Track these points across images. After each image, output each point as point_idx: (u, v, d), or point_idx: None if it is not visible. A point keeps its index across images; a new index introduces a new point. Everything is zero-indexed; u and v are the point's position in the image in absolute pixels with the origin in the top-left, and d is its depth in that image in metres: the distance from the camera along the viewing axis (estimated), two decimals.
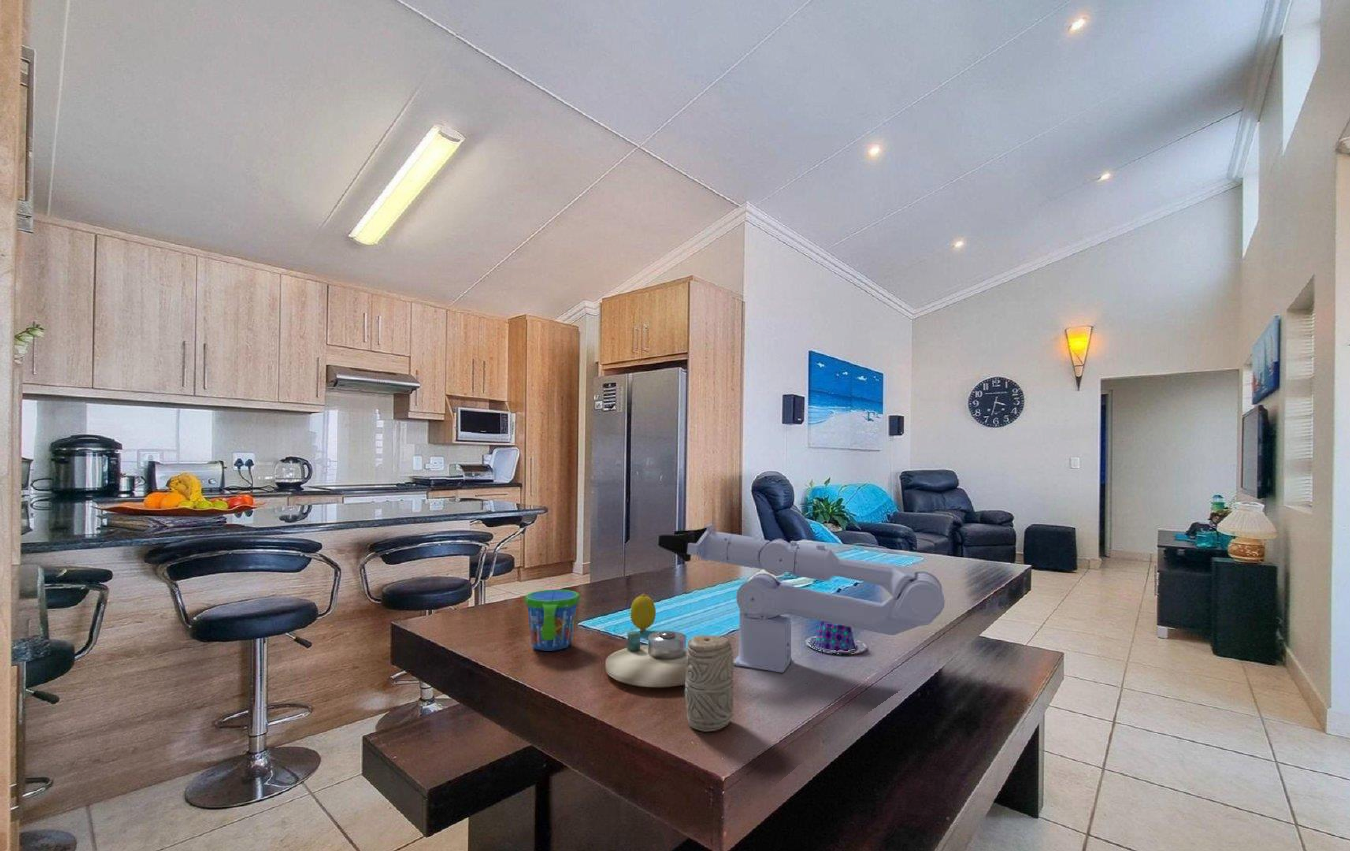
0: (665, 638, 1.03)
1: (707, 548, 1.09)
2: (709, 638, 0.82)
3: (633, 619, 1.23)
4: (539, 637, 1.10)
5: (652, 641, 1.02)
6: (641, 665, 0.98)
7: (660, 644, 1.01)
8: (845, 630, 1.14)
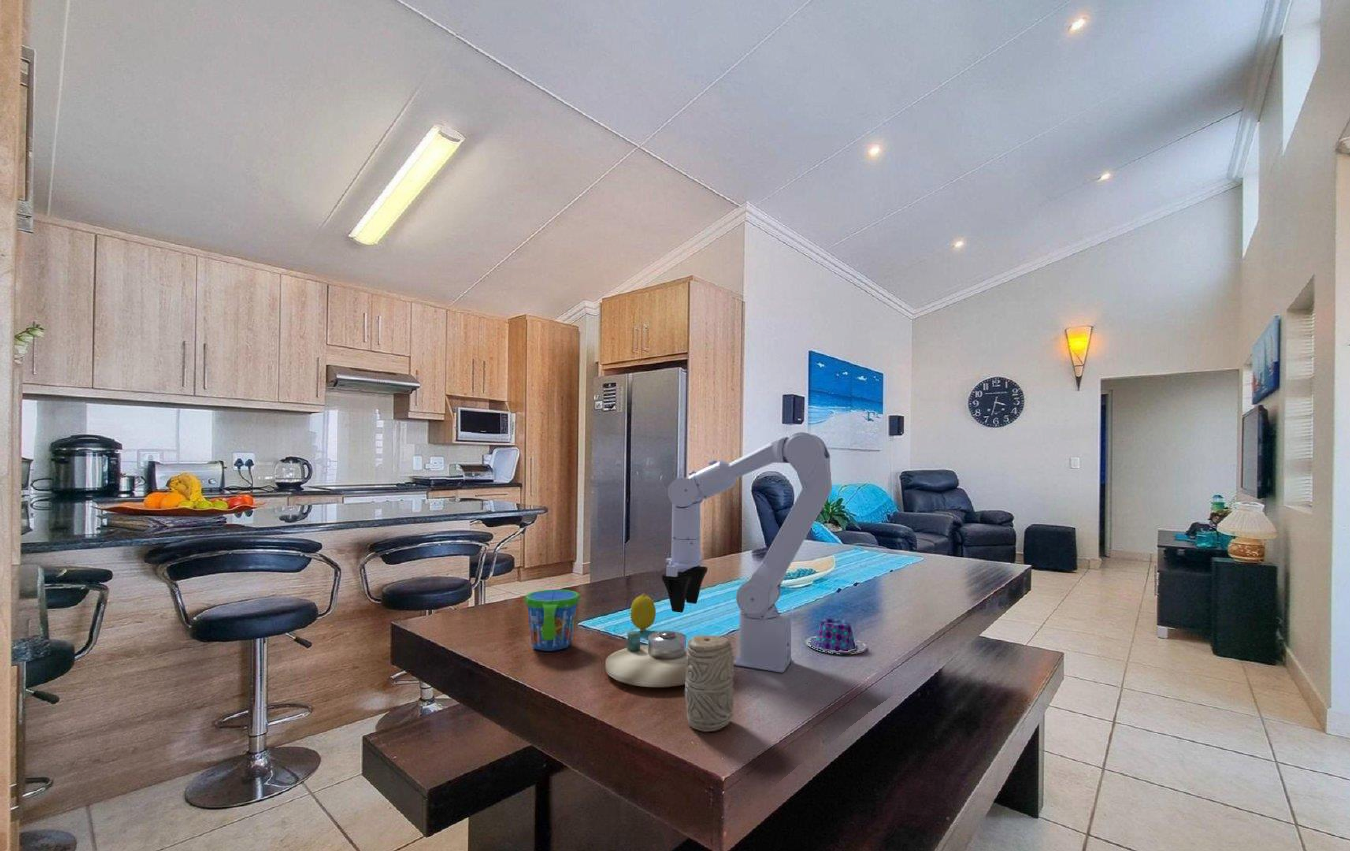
0: (665, 638, 1.03)
1: (680, 559, 1.11)
2: (709, 638, 0.82)
3: (633, 619, 1.23)
4: (539, 637, 1.10)
5: (652, 641, 1.02)
6: (641, 665, 0.98)
7: (660, 644, 1.01)
8: (845, 630, 1.14)
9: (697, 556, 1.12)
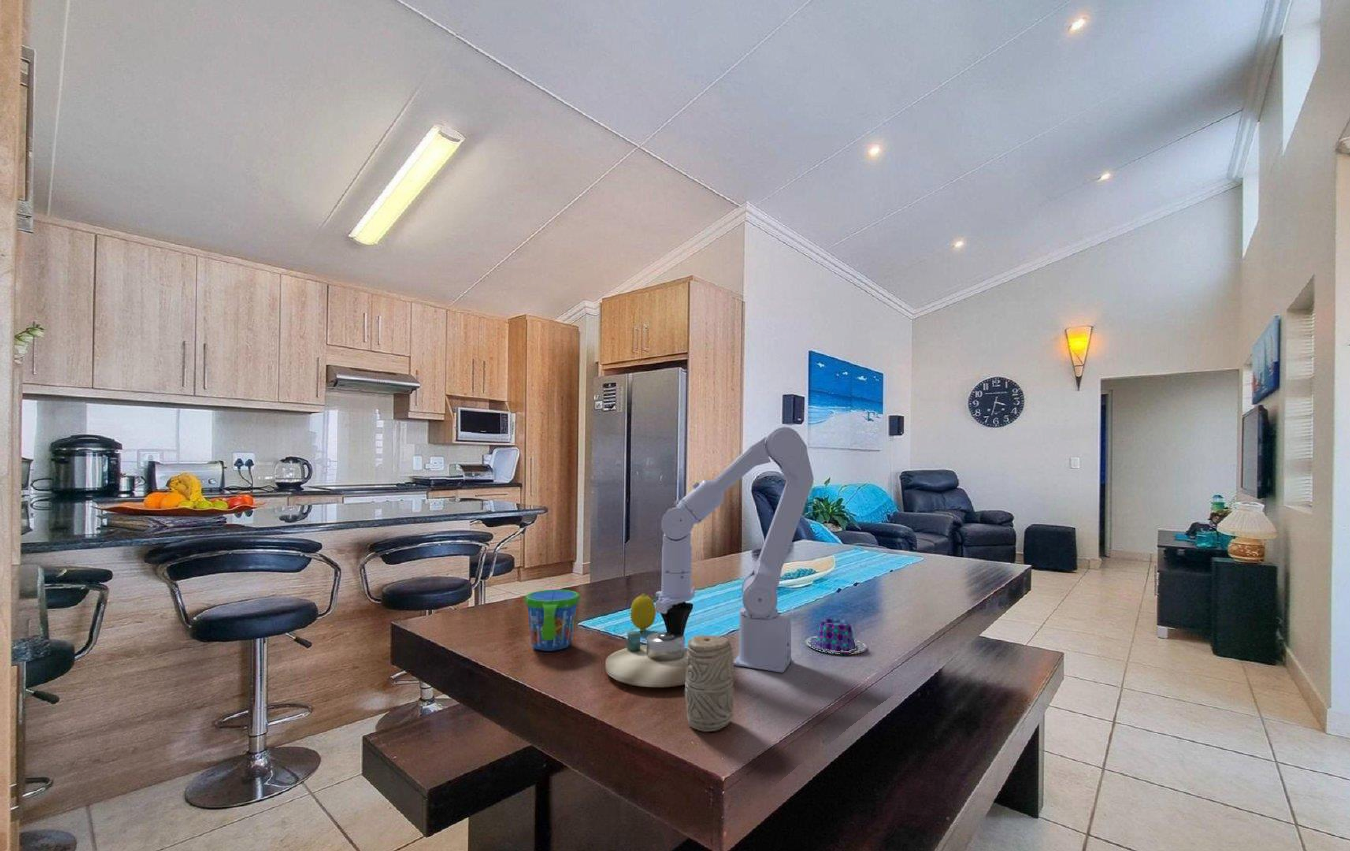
0: (663, 639, 1.02)
1: (671, 594, 1.06)
2: (709, 638, 0.82)
3: (633, 619, 1.23)
4: (539, 637, 1.10)
5: (650, 642, 1.02)
6: (641, 665, 0.98)
7: (658, 645, 1.01)
8: (846, 630, 1.14)
9: (688, 590, 1.07)
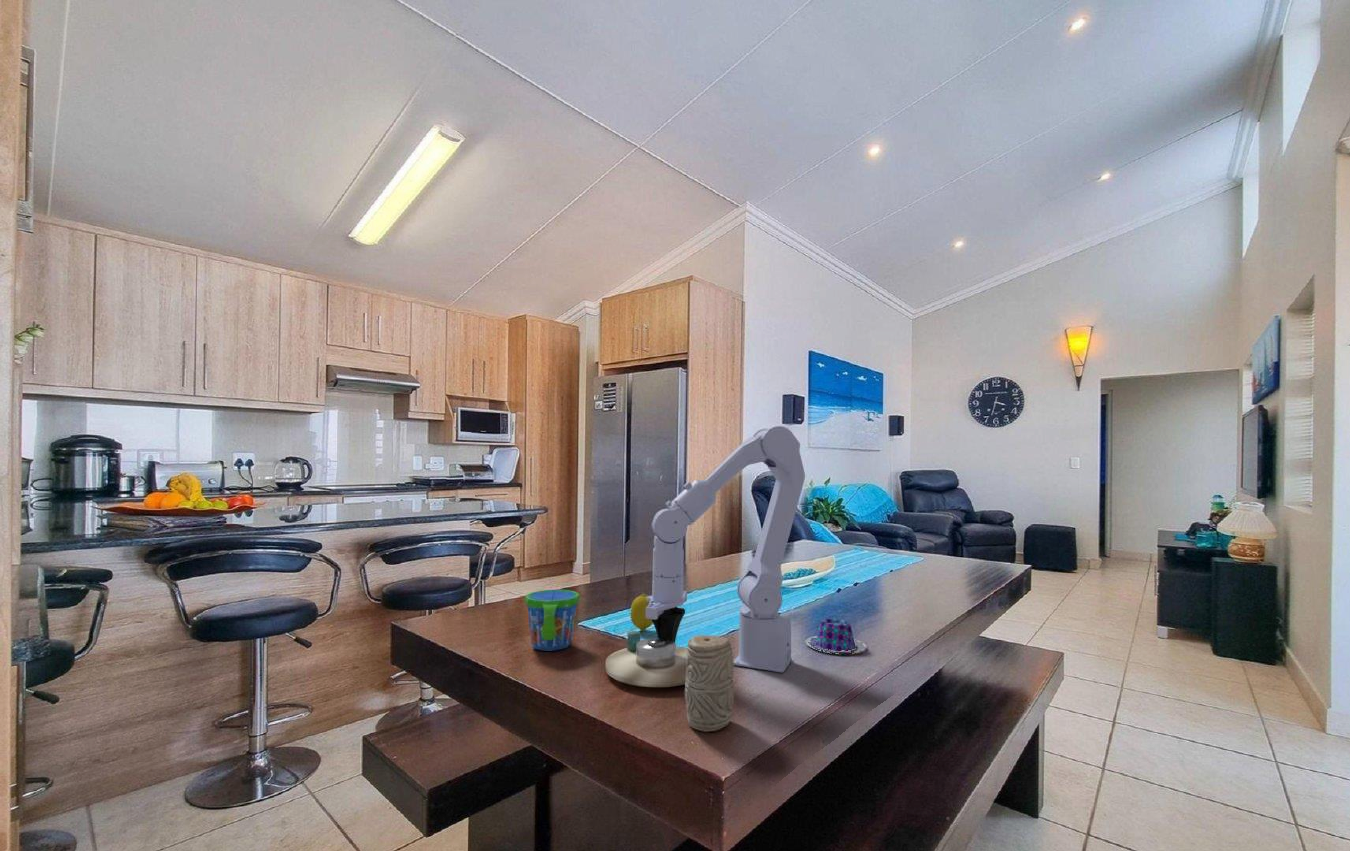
0: (653, 646, 0.99)
1: (662, 599, 1.02)
2: (709, 638, 0.82)
3: (633, 619, 1.23)
4: (539, 637, 1.10)
5: (640, 649, 0.98)
6: None
7: (648, 652, 0.97)
8: (846, 629, 1.14)
9: (680, 595, 1.03)
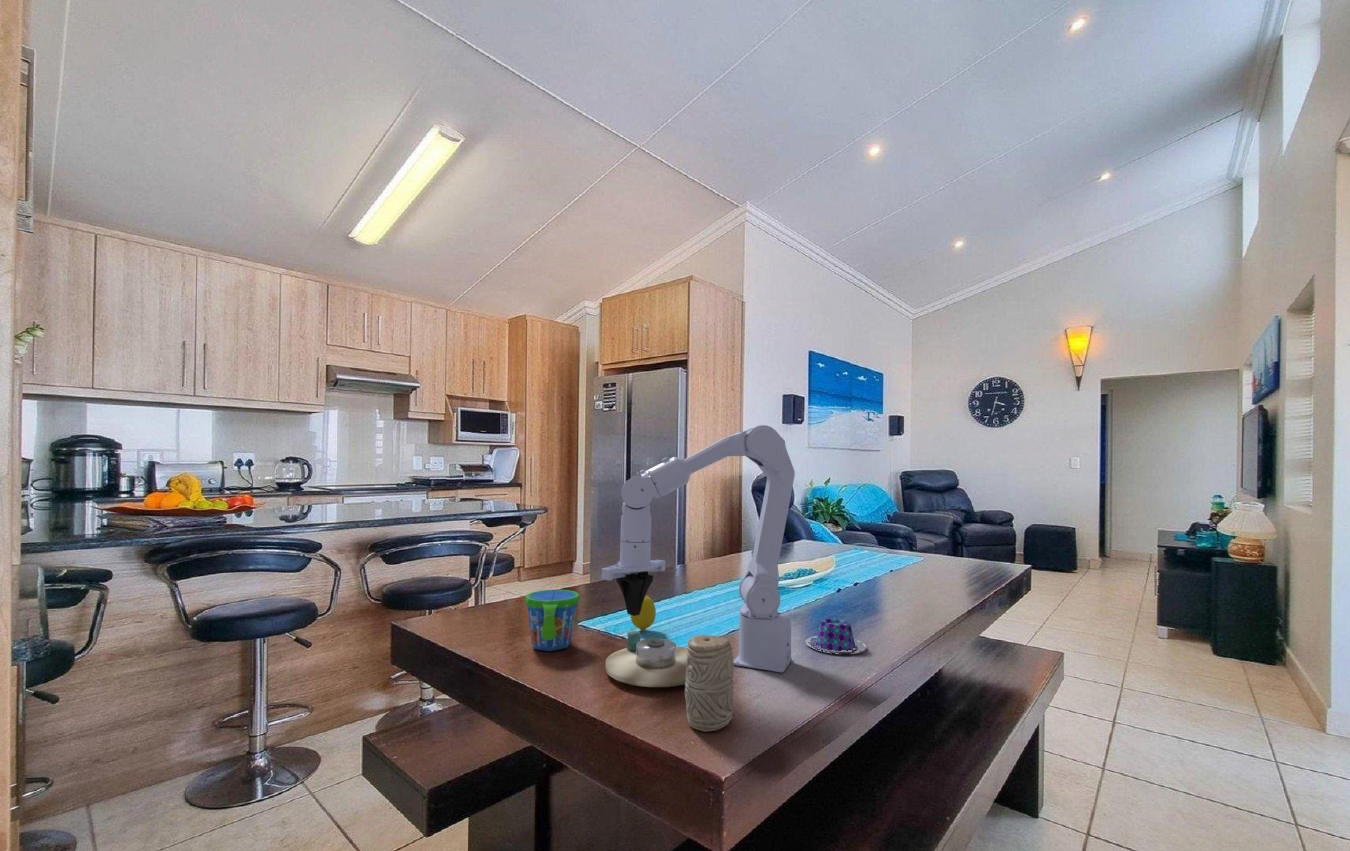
0: (653, 646, 0.99)
1: (624, 563, 1.05)
2: (709, 638, 0.82)
3: (633, 619, 1.23)
4: (539, 637, 1.10)
5: (639, 649, 0.98)
6: None
7: (648, 652, 0.97)
8: (846, 629, 1.14)
9: (642, 561, 1.04)
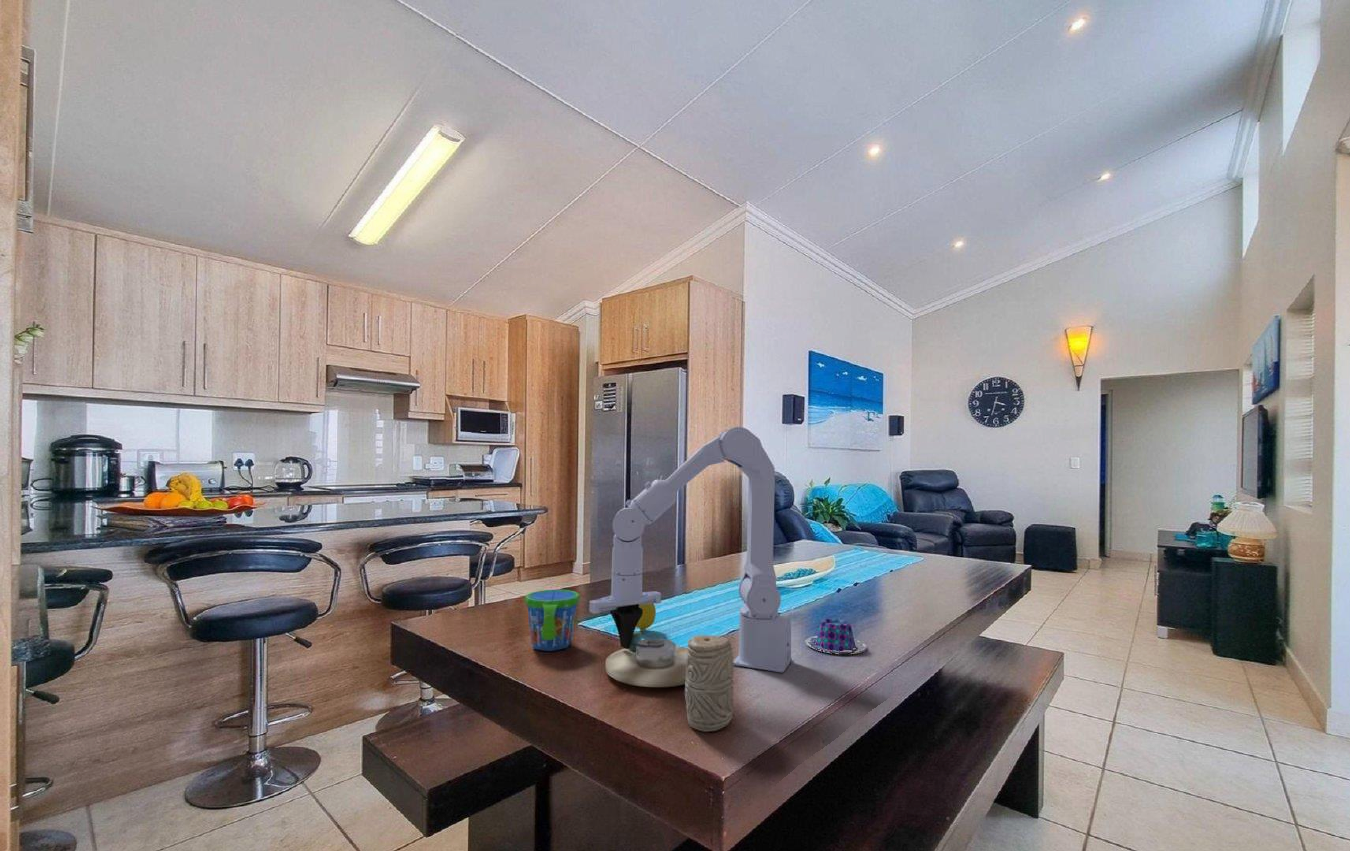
0: (653, 646, 0.99)
1: (613, 596, 1.04)
2: (709, 638, 0.82)
3: None
4: (539, 637, 1.10)
5: (639, 649, 0.98)
6: None
7: (647, 652, 0.97)
8: (847, 629, 1.14)
9: (631, 594, 1.03)
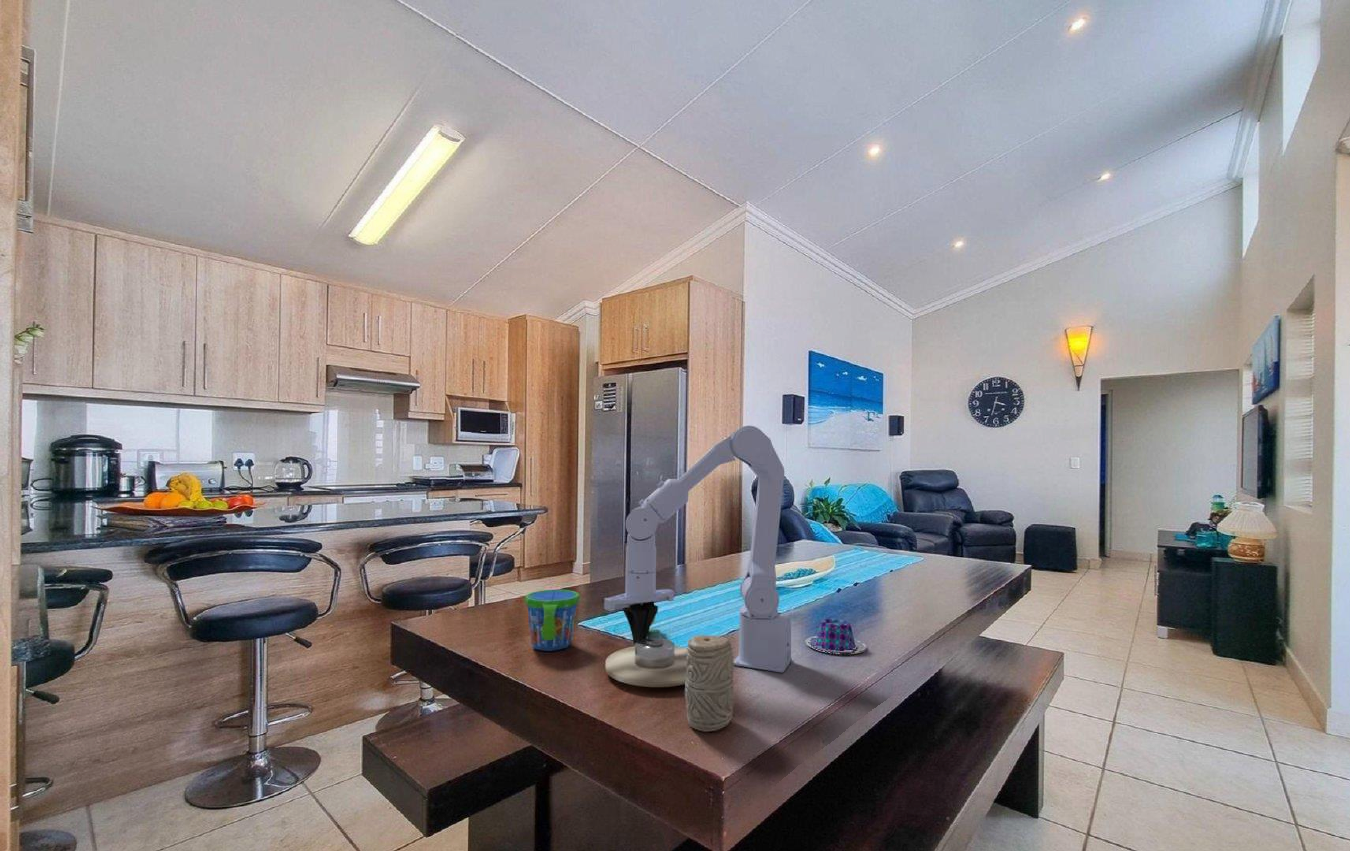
0: (648, 645, 0.99)
1: (628, 593, 1.06)
2: (709, 638, 0.82)
3: None
4: (539, 637, 1.10)
5: (635, 646, 1.00)
6: None
7: (638, 650, 0.98)
8: (847, 629, 1.14)
9: (645, 592, 1.05)
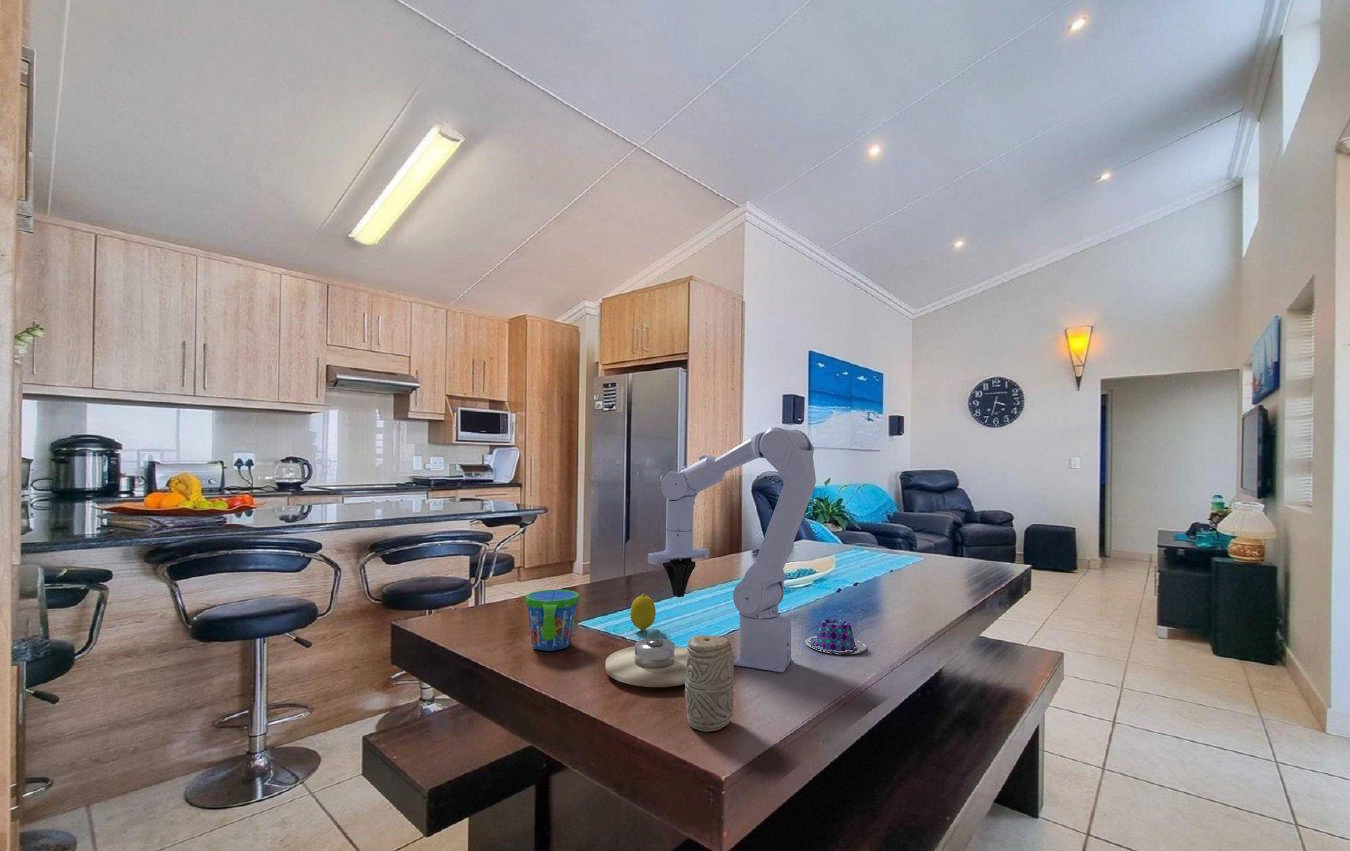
0: (648, 645, 0.99)
1: (668, 550, 1.16)
2: (709, 638, 0.82)
3: (633, 619, 1.23)
4: (539, 637, 1.10)
5: (635, 646, 1.00)
6: None
7: (638, 650, 0.98)
8: (848, 629, 1.14)
9: (685, 548, 1.16)
